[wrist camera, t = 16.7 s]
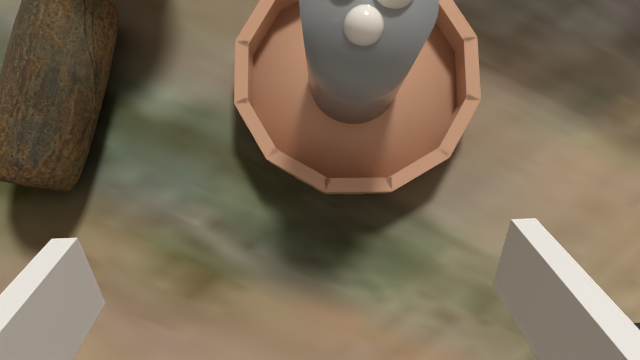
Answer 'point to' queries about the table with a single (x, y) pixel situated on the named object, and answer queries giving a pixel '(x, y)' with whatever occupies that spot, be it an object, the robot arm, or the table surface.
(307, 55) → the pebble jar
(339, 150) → the terracotta bowl
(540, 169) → the table surface
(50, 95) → the stone weight
